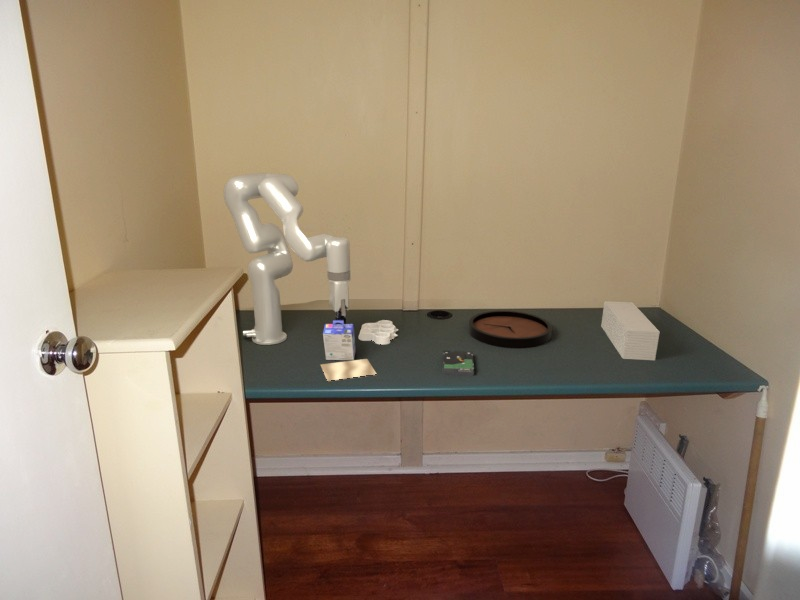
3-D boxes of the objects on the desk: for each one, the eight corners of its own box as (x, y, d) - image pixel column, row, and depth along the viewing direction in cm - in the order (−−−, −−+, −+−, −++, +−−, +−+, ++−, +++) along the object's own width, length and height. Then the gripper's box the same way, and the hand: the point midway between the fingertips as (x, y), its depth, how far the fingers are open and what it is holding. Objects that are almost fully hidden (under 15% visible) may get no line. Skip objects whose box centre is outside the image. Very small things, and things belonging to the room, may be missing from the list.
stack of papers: (601, 326, 218) (604, 301, 214) (628, 328, 217) (632, 302, 213) (622, 359, 188) (626, 330, 184) (654, 360, 186) (659, 331, 183)
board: (327, 381, 169) (327, 380, 169) (320, 365, 181) (320, 364, 180) (376, 374, 174) (376, 374, 174) (367, 359, 185) (367, 358, 185)
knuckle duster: (363, 327, 216) (399, 328, 215) (357, 345, 199) (397, 346, 198) (362, 319, 215) (399, 320, 214) (357, 336, 198) (397, 337, 197)
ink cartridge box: (356, 349, 188) (353, 318, 179) (354, 360, 184) (352, 329, 175) (327, 348, 189) (323, 317, 179) (325, 360, 184) (321, 329, 175)
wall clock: (568, 325, 208) (518, 346, 188) (567, 335, 209) (517, 356, 189) (502, 305, 230) (452, 322, 210) (502, 314, 231) (451, 331, 212)
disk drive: (442, 357, 189) (442, 375, 175) (442, 350, 188) (442, 367, 174) (472, 358, 188) (474, 377, 174) (472, 351, 187) (475, 369, 173)
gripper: (323, 270, 184) (325, 322, 189) (332, 282, 170) (334, 337, 176) (345, 269, 186) (346, 319, 191) (355, 280, 172) (357, 334, 178)
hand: (340, 327), depth 184 cm, fingers closed
